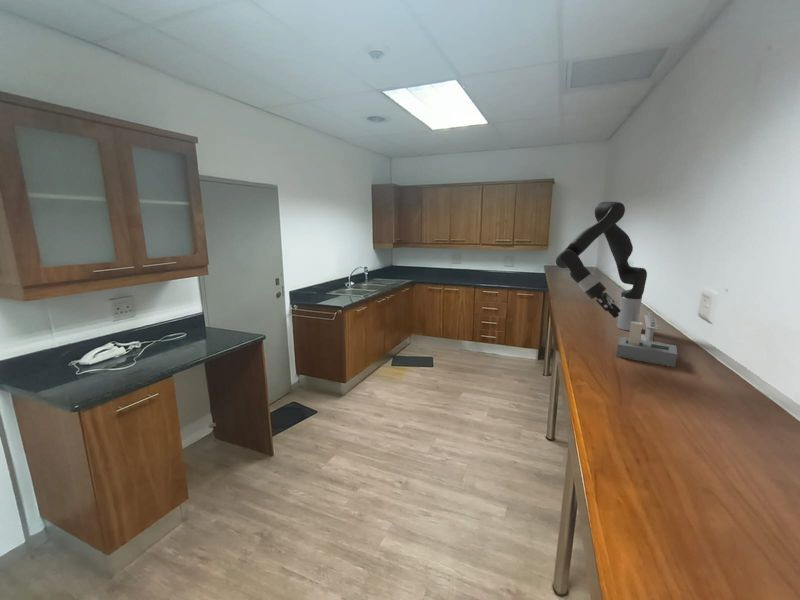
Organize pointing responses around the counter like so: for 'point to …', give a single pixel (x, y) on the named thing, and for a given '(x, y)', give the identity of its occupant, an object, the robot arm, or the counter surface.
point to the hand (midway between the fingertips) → (618, 314)
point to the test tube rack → (649, 327)
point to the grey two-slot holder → (648, 352)
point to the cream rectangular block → (635, 333)
